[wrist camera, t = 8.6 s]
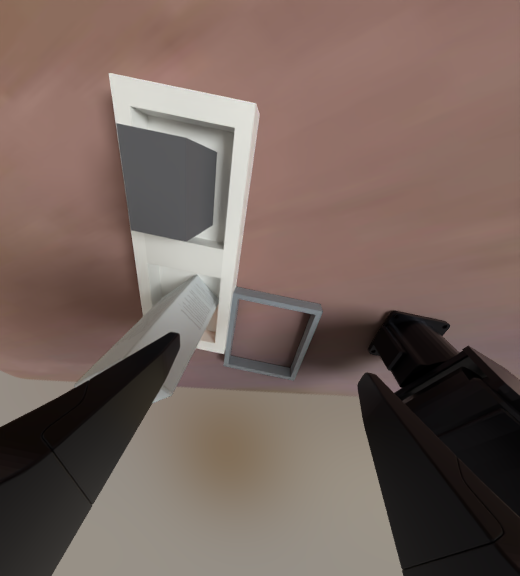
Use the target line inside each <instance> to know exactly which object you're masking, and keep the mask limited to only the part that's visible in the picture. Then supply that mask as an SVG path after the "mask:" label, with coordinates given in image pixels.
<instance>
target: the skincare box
mask: <svg viewBox="0 0 520 576" xmlns="http://www.w3.org/2000/svg"><path fill="white" fill-rule="evenodd" d="M218 303H219V299H218V298H217V297H216V295H215V294H214V293H213V292H212V291H211V290H210V289H209V287H208V286H207V285H206V284H205V283H204V282H203V280H202V279H201V278H200V277H199V276H198V275H195V276H194V277H192V278H191V279H189V280H188V281H186V282H185V283H183V284H182V285H180V286H179V287H177V288H176V289H175V290H173V291H172V292H170V293H169V294H167V295H166V296H164V297H163V298H162V299H161V300H160V301H159V302H158V303H157V304H155V305H154V306H153V307H152V308H151V309H150V310H149V311H148V312H147V313H146V314H145V315H144V316H143V317H142V318H141V319H140V320H139V321H138V322H137V323H136V324H135V325H134V326H133V327H132V328H131V329H130V330H129V331H128V332H127V333H126V334H125V335H124V336H123V337H122V338H121V339H120V340H119V341H118V342H117V343H116V344H115V345H114V346H113V347H112V348H111V349H110V350H109V351H108V352H107V353H106V354H105V355H104V356H103V357H102V358H100V359H99V360H98V361H97V362H96V363H95V364H94V365H93V366H92V367H91V368H90V369H89V370H88V371H87V372H86V373H85V374H84V375H83V376H82V377H81V378H80V379H79V380H78V381H77V382H76V383H75V385H74V387H77V386H79V385H81V384H82V383H84V382H86V381H87V380H89V381H90V379H91V378H93V377H94V376H96V375H98V374H99V373H101V372H103V371H105V370H106V369H108V368H110V367H111V366H113V365H115V364H116V363H118V362H120V361H122V360H123V359H125V358H127V357H128V356H130V355H132V354H133V353H135V352H137V351H139V350H140V349H142V348H144V347H145V346H147V345H149V344H150V343H152V342H154V341H156V340H157V339H159V338H161V337H162V336H164V335H166V334H167V333H169V332H176V333H179V334H180V349H179V352H178V354H177V356H176V358H175V361H174V363H173V365H172V367H171V369H170V372H169V374H168V376H167V378H166V380H165V382H164V384H163V386H162V387H161V389H160V391H159V393H158V394H157V396H156V398H155V399H154V401H153V403H155V402H157V401H160V400H161V399H164V398H167V397H170V396H172V394H173V392H174V390H175V388H176V386H177V384H178V382H179V380H180V379H181V376H182V374H183V373H184V371H185V369H186V367H187V365H188V363H189V361H190V359H191V357H192V355H193V353H194V351H195V349H196V347H197V345H198V343H199V341H200V339H201V337H202V335H203V333H204V331H205V329H206V327H207V325H208V323H209V321H210V319H211V317H212V315H213V313H214V311H215V309H216V307H217V305H218Z"/></svg>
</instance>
